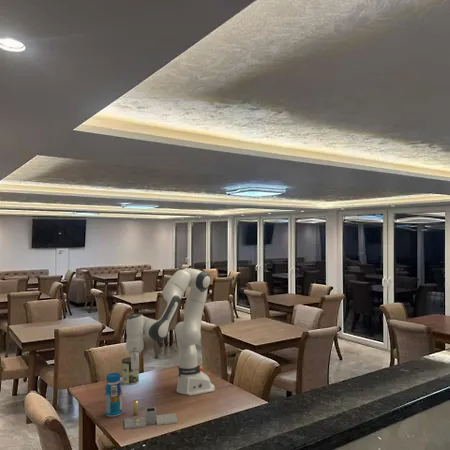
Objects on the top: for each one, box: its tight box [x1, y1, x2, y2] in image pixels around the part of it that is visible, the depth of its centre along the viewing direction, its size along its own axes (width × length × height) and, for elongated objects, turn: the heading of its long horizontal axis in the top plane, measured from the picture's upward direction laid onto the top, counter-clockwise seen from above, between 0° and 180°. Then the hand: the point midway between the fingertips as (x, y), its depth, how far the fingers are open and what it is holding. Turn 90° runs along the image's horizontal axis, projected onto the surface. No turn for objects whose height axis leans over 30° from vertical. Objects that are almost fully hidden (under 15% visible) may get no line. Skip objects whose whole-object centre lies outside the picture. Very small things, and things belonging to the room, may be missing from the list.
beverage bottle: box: [104, 372, 123, 418], centre depth 216 cm, size 8×8×20 cm
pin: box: [132, 399, 139, 416], centre depth 215 cm, size 2×2×7 cm
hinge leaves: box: [124, 406, 179, 430], centre depth 206 cm, size 25×9×6 cm, turn 103°
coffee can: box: [121, 356, 140, 386], centre depth 263 cm, size 10×10×14 cm
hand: (134, 373), depth 216 cm, fingers open, 8 cm apart
